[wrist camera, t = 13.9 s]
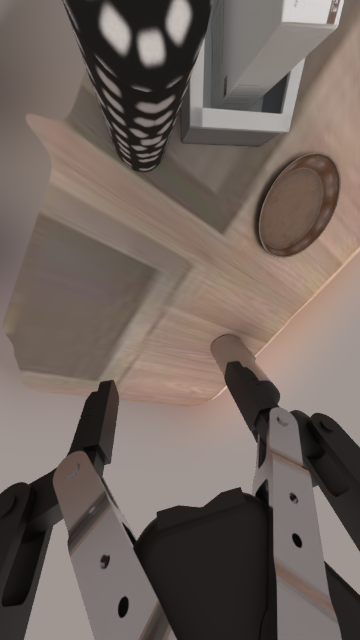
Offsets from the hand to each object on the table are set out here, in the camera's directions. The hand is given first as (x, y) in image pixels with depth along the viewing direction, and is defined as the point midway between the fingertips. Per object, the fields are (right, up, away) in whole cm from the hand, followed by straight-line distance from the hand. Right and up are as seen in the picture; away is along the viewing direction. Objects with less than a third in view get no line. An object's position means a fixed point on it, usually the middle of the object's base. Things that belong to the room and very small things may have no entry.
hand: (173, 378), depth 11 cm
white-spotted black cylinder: (-6, +33, +13) cm, 36 cm away
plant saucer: (+24, +28, +24) cm, 44 cm away
